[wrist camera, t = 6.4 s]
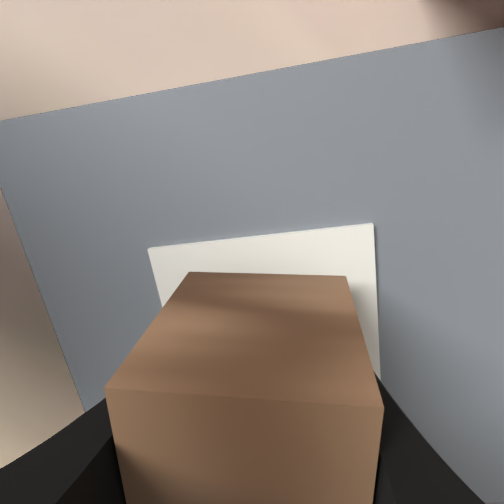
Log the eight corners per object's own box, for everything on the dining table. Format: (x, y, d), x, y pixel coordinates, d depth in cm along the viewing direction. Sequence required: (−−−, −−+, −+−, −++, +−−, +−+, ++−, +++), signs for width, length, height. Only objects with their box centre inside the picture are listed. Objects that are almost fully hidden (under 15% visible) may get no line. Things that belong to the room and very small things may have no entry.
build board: (124, 486, 17) (115, 503, 16) (-8, 124, 12) (-29, 125, 11) (502, 488, 14) (513, 508, 14) (546, 22, 9) (568, 13, 8)
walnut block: (199, 395, 12) (138, 564, 8) (188, 271, 11) (103, 387, 6) (337, 405, 12) (361, 594, 7) (345, 276, 10) (383, 407, 6)
